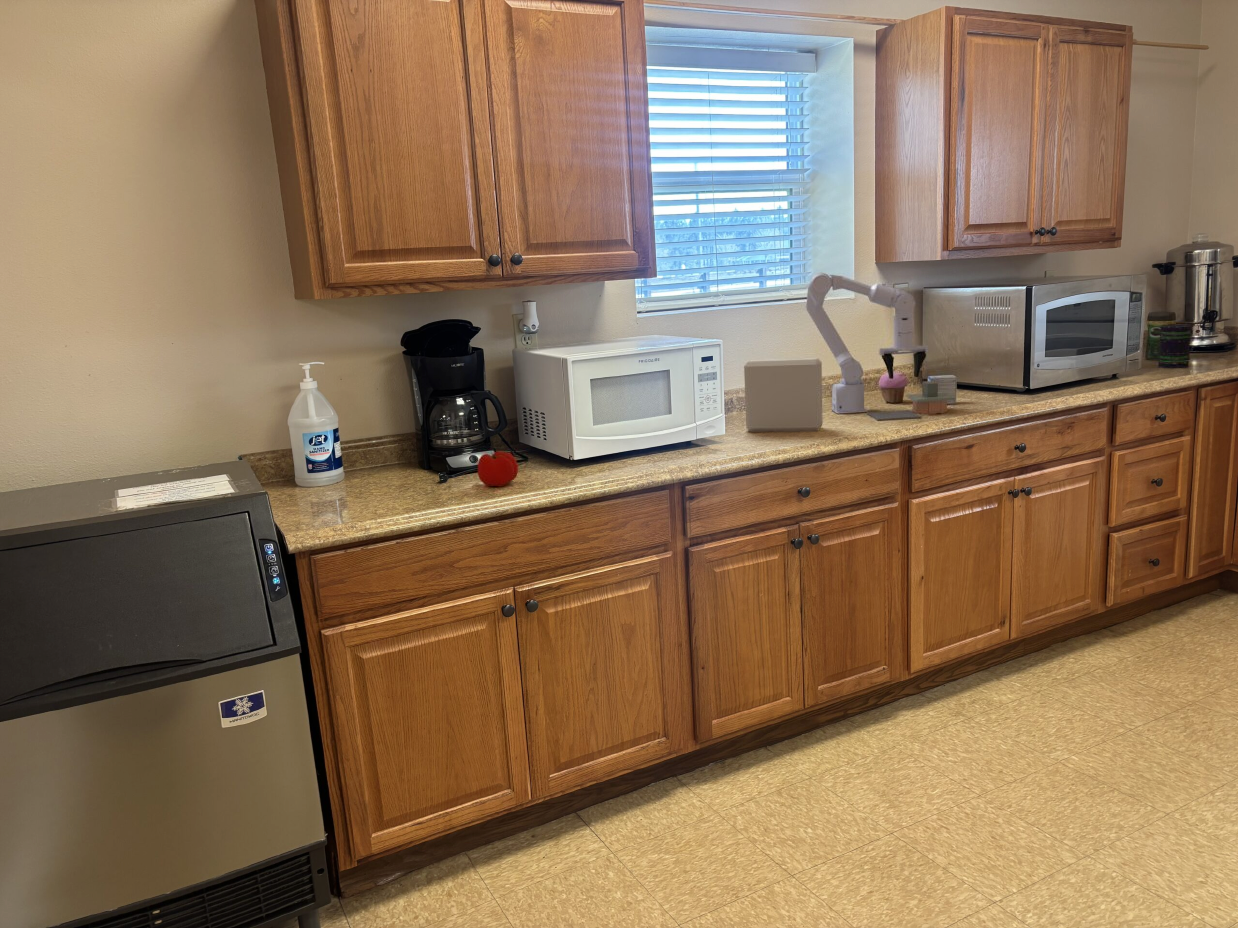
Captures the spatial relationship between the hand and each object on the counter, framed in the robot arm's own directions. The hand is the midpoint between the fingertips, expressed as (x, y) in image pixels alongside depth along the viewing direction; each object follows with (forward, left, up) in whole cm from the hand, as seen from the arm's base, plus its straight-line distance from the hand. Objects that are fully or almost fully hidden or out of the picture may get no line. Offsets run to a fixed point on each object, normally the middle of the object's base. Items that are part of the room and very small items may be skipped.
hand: (903, 377), depth 274 cm
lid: (+6, -6, -6) cm, 10 cm away
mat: (-6, -10, -10) cm, 15 cm away
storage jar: (+115, +57, -10) cm, 129 cm away
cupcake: (+1, +15, -10) cm, 18 cm away
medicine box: (+14, +7, -10) cm, 19 cm away
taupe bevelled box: (-40, -21, -10) cm, 46 cm away
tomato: (-115, -69, -10) cm, 134 cm away
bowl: (+6, -6, -10) cm, 13 cm away
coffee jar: (+123, +80, -10) cm, 147 cm away
